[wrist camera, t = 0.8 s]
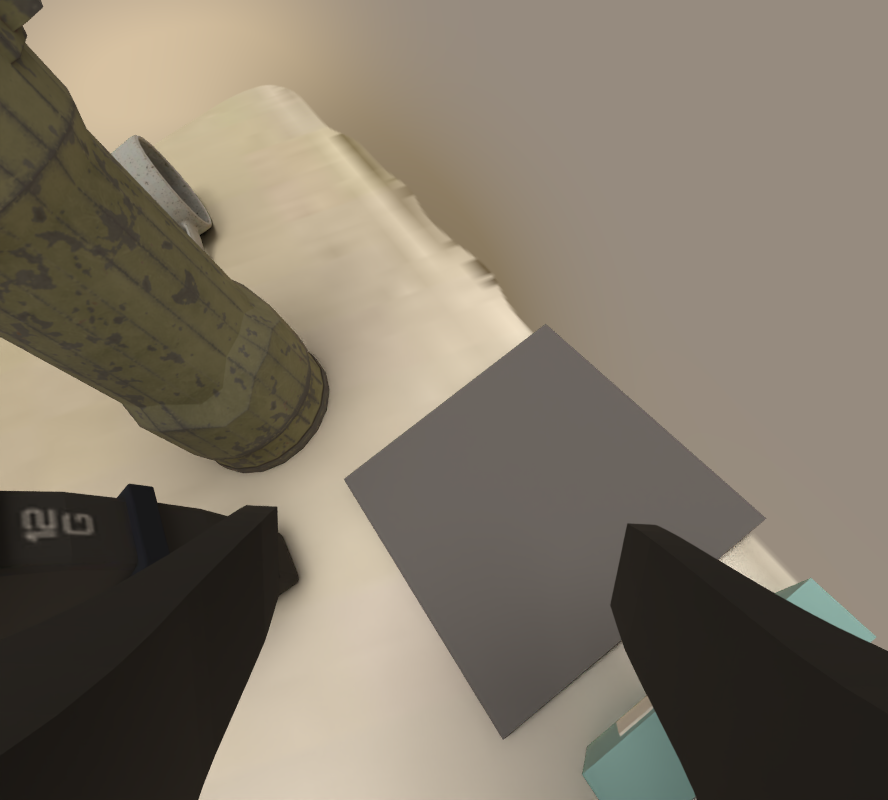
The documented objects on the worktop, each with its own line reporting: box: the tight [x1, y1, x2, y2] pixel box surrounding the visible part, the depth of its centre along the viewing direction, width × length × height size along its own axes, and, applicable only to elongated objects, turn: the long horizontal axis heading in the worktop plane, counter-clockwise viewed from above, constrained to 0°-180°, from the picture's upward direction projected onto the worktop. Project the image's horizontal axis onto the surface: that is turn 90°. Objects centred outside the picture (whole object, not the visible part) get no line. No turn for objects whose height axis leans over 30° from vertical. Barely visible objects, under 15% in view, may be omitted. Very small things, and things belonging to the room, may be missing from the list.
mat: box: [344, 324, 766, 739], centre depth 24 cm, size 14×14×1 cm
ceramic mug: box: [111, 135, 212, 251], centre depth 39 cm, size 11×8×8 cm
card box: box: [582, 578, 876, 800], centre depth 17 cm, size 9×2×6 cm, turn 125°
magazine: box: [0, 484, 298, 639], centre depth 22 cm, size 4×13×15 cm, turn 121°
